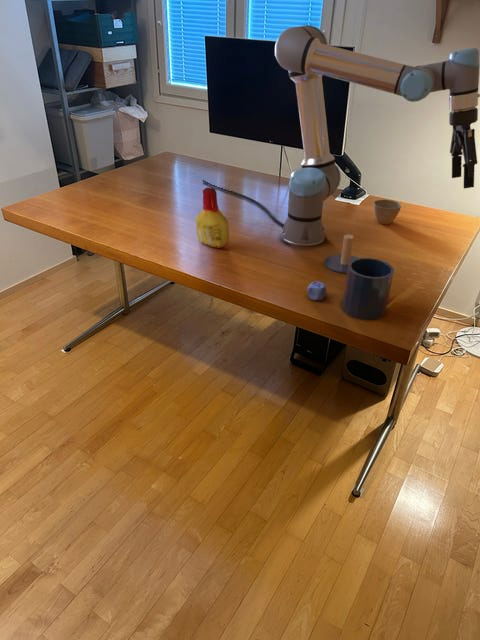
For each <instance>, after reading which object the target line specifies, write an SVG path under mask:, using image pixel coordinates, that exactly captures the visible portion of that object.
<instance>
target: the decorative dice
mask: <svg viewBox="0 0 480 640" xmlns="http://www.w3.org/2000/svg"><path fill="white" fill-rule="evenodd" d="M306 294H307V296H308V298H309V299H310V300H311V301H316V302H317V301H321V300H323V299H324V298H325V297H326V294H327V286H326V285H325V284H324V283H323V282H321V281H312V282H310V283H309V285H308V286H307V290H306Z"/></svg>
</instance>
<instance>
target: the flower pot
mask: <svg viewBox="0 0 480 640" xmlns="http://www.w3.org/2000/svg"><path fill="white" fill-rule="evenodd" d="M401 208H402V204H401V203H400V202H398V201H395V200H392V199H377V200H374V201H373V214H374V217H375V219H376V221H377V223H378V224H381V225H390V224H392V223H393V221H394V220H395V219H396V218H397V216H398V215H399V213H400V211H401Z"/></svg>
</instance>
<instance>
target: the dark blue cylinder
mask: <svg viewBox="0 0 480 640" xmlns="http://www.w3.org/2000/svg"><path fill="white" fill-rule="evenodd" d="M394 272H395V268H394V267H393V266H392V264H390V263H389V262H387V261H385V260H382V259H379V258H375V257H358V259H354V260H352V261H351V262H349V264H348V269H347V274H346V277H345V282H344V283H345V284H344V290H343V296H342V303H341V306H342V307H341V308H342V310H343V311H344V313H346V314H347V315H349V316H351V317H353V318H355V319H358V320H359V319H360V320H367V321H369V320H370V321H371V320H376V319H380V318H382V317H383V316H384V315H385V314H386V310H387V306H388V301H389V296H390V291H391V287H392V282H393V277H394Z"/></svg>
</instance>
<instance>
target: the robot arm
mask: <svg viewBox="0 0 480 640" xmlns="http://www.w3.org/2000/svg"><path fill="white" fill-rule="evenodd" d="M276 39H277V40H276V41H275V45H274V56H275V59H276V61H277V63H278V65H279V66H280V67H281V68H282V69H284V70H285V71H288V76H289V79H290V80H291V81H293V82H294V84H295V92H296V99H297V107H298V114H299V122H300V130H301V138H302V139H301V140H302V146H303V153H304V158H303V160H301V163H300V164H301V168H298V169H296V170H295V171H293V172H292V173H291V175H290V178H289V183H288V202H287V217H286V220H285V222H284V223H283V222H281V220H278V219H277V218H276V217H275V216H274V215H273V214H272V213H271V212H270V211H269V209H268V208H266V206H264V205H263V204H262V203H261V202H259V201H257V200H255V199H253V198H252V197H249V196H247V195H246V194H243V193H240V192H236V191H235V190H231V191H229V190H230V189H228V190H226V189H227V188H225V189H223V188H224V187H222V188H220V187H221V186H220V187H217V186H218V185H217V186H215V185H216V184H214V185H212V184H213V183H212V184H210V183H211V182H210V183H208V182H209V181H207V180H205V179H202V182H203V183H205V184H207V185H209V186H212V188H215V189H216V188H217V189H219V190H222V191H225V192H228V193H229V194H230V193H231V194H233V195H236V196H238V197H241V198H244V199H247V200H248V201H250V202H253V203H254V204H256V205H257V206H259V207H260V208H261V209H262V210H264V211H265V212H266V213H267V215H268V216H269V217H270V218H271V219H272V220H273V221H274V222H275V223H276V224H278V225H280V226H282V229H281V232H280V239H281V241H282V242H283V243H284V244H286V245H288V246H295V247H300V248H301V247H302V248H308V247H309V248H310V247H315V246H319V245H322V244H323V243H324V242H325V236H326V235H325V227H324V224H323V221H322V217H323V206H324V202H325V201H326V200H327V199H328V198H329V197H331V196H332V195H333V194H334V193H335V192H336V191H337V190H338V188H339V186H340V183H341V180H342V179H341V176H342V175H341V171H340V168H339V167H338V166H337V164H336V158H335V156H334V155H332V154H331V152H330V145H329V144H330V143H329V134H328V125H327V115H326V106H325V97H324V96H325V95H324V87H323V76H326V77H329V78H332V79H336V80H341V81H344V82H348V83H351V84H356V85H359V86H362V87H367V88H370V89H375V90H378V91H382V92H386V93H389V94H393V95H396V96H400V97H403V98H404V99H405V100H406V101H407V102H412V103H414V102H420V101H422V100H423V99H425V98H426V97H428V96H429V95H430V93H435V92H441V91H447V90H449V95H448V96H449V97H448V98H449V99H448V102H449V103H448V107H449V108H448V109H449V111H450V112H449V117H448V118H449V119H448V121H449V123H448V124H449V125H450V126H451V127H452V133H451V142H450V147H449V154H450V156H451V179H456V178H457V179H458V178H462V168H463V189H465V190H466V189H470V188H474V187H475V165H477V164H478V156H477V155H478V154H477V146H476V135H475V131H476V130H475V128H471V125H473V124H474V123H477V122H478V120H479V118H478V117H479V116H478V115H479V114H478V113H479V109H478V108H477V106H478V105H479V98H480V93H479V83H480V82H479V81H480V51H479V49H478V48H477V47H469V48H464V49H460V50H454V51H452V52H450V54H449V58H448V60H444V61H440V62H434V63H428V64H421V65H416V66H412V65H408V64H404V63H400V62H395V61H392V60H388V59H384V58H381V57H376V56H374V55H373V56H372V55H368V54H364V53H361V52H357V51H353V50H348V49H345V48H341V47H338V46H334V45H333V46H332V45H329V43H328V39H327V36H326V34H325V33H324V32H323V30H321V29H320V28H319V27H317V26H314V25H309V24H307V25H301V26H291V27H289V28H286V29H284V30H283V31H282V32H281V33H280V34H279V36H278V37H277V38H276ZM462 156H463V157H462ZM462 160H463V161H464V163H462ZM204 180H205V181H204ZM206 181H207V182H206Z"/></svg>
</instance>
